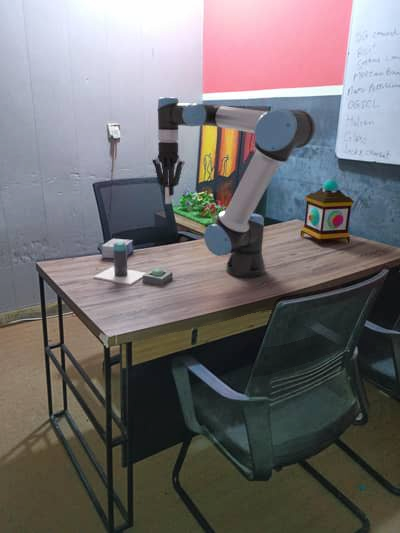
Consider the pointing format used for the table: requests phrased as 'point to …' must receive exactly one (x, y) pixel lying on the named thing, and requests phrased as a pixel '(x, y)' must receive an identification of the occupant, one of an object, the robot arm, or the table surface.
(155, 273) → the button
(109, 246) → the ink cartridge box
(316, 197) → the decorative lantern
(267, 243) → the table surface
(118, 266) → the ball
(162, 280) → the button housing
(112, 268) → the paper pad
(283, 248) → the table surface
